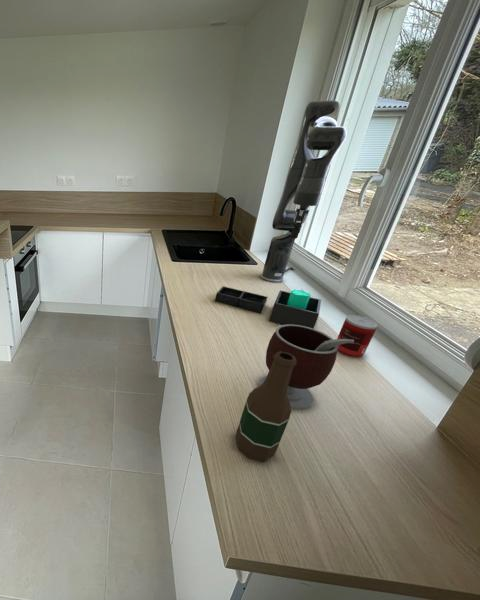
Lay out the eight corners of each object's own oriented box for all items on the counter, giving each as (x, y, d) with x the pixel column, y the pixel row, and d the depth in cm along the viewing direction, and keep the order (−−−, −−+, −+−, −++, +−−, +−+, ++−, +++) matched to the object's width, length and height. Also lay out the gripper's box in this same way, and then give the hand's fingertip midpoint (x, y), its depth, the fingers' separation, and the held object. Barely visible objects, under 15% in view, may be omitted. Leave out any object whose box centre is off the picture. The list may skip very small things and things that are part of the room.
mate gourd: (249, 394, 84) (270, 328, 75) (262, 369, 94) (282, 308, 85) (320, 424, 75) (353, 354, 66) (326, 393, 85) (356, 328, 76)
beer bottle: (227, 433, 72) (253, 344, 62) (259, 431, 73) (291, 343, 63) (246, 464, 65) (279, 370, 55) (282, 462, 66) (322, 368, 56)
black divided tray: (220, 294, 141) (222, 286, 139) (265, 305, 132) (267, 296, 130) (214, 301, 134) (216, 292, 133) (260, 313, 125) (263, 304, 123)
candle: (304, 322, 118) (315, 292, 113) (286, 320, 119) (296, 291, 114) (297, 314, 123) (307, 286, 118) (280, 313, 124) (290, 284, 119)
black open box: (274, 307, 130) (280, 290, 127) (314, 317, 123) (321, 299, 120) (268, 321, 120) (274, 303, 116) (311, 333, 113) (319, 314, 109)
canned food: (357, 346, 105) (371, 317, 101) (368, 360, 98) (383, 329, 94) (330, 342, 108) (342, 313, 103) (338, 355, 101) (352, 324, 96)
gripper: (320, 194, 106) (304, 241, 114) (322, 189, 116) (307, 233, 124) (294, 192, 110) (280, 238, 118) (298, 187, 120) (285, 230, 128)
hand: (294, 235), depth 121 cm, fingers open, 8 cm apart
